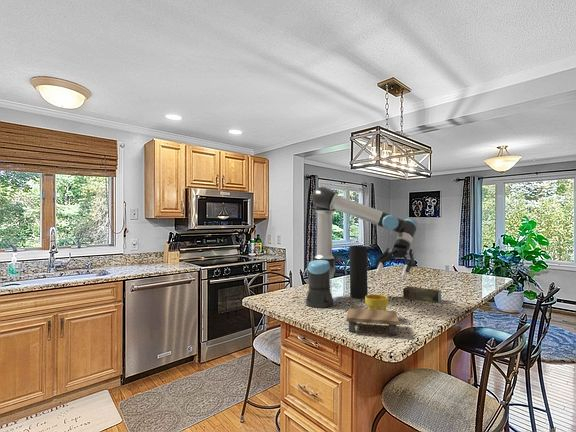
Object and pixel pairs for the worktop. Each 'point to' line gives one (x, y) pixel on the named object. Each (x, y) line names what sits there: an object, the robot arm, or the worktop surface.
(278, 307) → the worktop surface
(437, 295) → the beverage carton
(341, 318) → the worktop surface
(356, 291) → the vase
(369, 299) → the plant pot
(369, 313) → the shelf stand
